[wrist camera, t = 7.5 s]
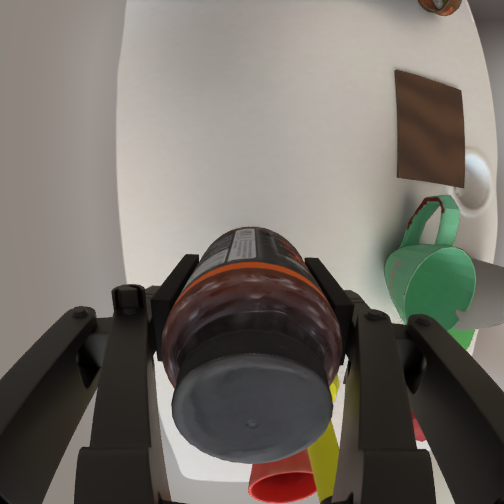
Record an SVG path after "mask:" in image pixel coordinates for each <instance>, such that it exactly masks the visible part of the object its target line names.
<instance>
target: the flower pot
mask: <svg viewBox="0 0 504 504" xmlns="http://www.w3.org/2000/svg"><path fill="white" fill-rule="evenodd" d="M248 492H249V494H250V495H251V497H253V498H254V499H257V500H259V501H262V502H267V503H288V502H294V501H298V500H301V499H304V498H307V497H309V496H311V495H312V494H314V493H316V492H317V488H316V484H315V480H314V475H313V471H312V467H311V463H310V458H309V454H308V450H307V449H305V450H303V451H301V452H299V453H297V454H295V455H292V456H290V457H287V458H284V459H281V460H278V461H274V462H267V463H257V464H253V466H252V471H251V476H250V481H249V487H248Z"/></svg>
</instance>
